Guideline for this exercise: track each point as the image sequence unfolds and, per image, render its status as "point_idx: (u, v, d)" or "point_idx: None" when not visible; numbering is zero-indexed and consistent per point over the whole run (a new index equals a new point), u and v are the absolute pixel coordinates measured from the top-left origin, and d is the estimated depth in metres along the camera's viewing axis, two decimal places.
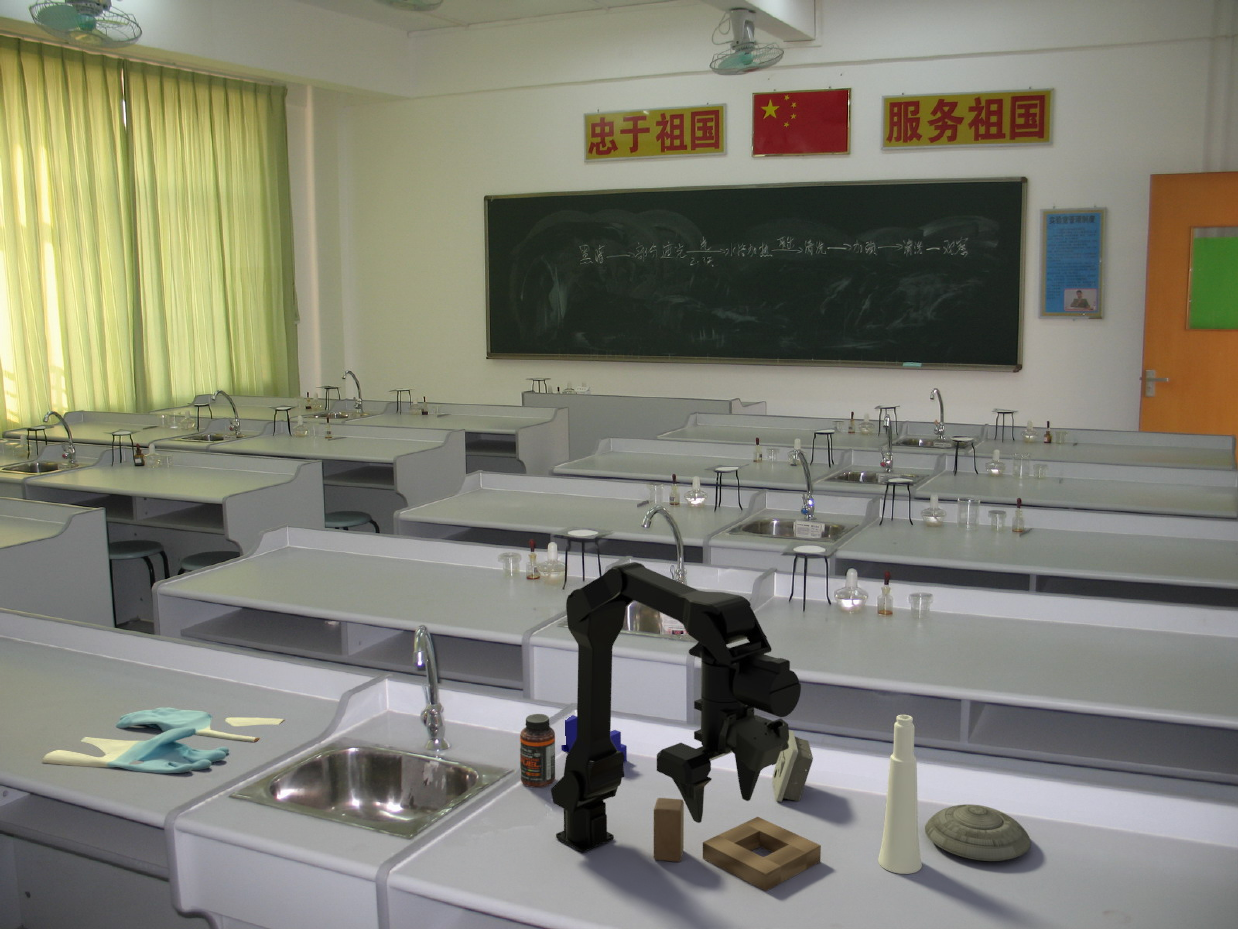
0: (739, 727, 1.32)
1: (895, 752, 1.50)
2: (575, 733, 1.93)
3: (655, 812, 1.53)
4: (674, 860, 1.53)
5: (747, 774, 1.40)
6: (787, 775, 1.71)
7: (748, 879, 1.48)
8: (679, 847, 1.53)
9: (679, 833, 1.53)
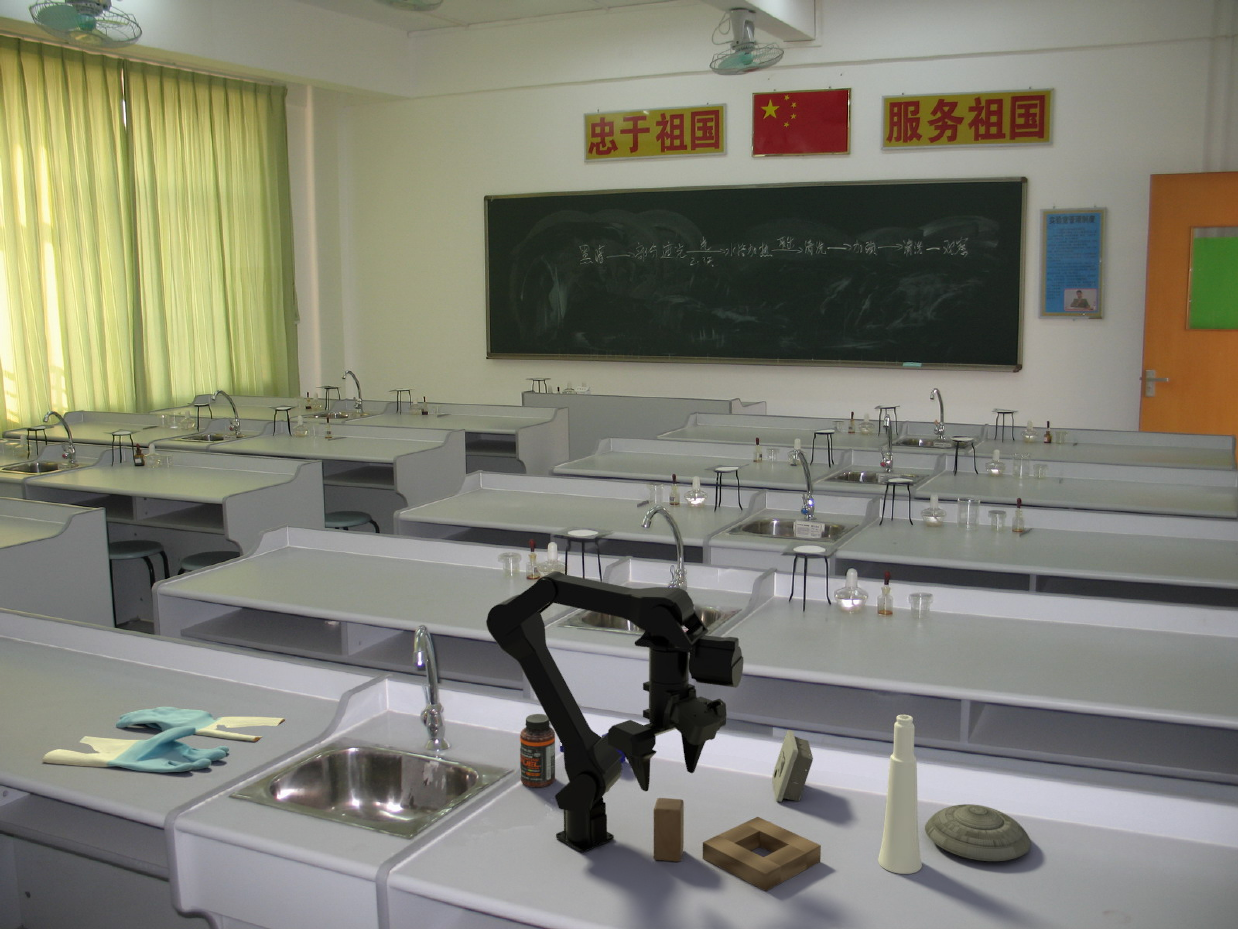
0: (681, 706, 1.48)
1: (895, 752, 1.50)
2: None
3: (655, 812, 1.53)
4: (674, 860, 1.53)
5: (691, 749, 1.57)
6: (787, 775, 1.71)
7: (748, 879, 1.48)
8: (679, 847, 1.53)
9: (679, 833, 1.53)
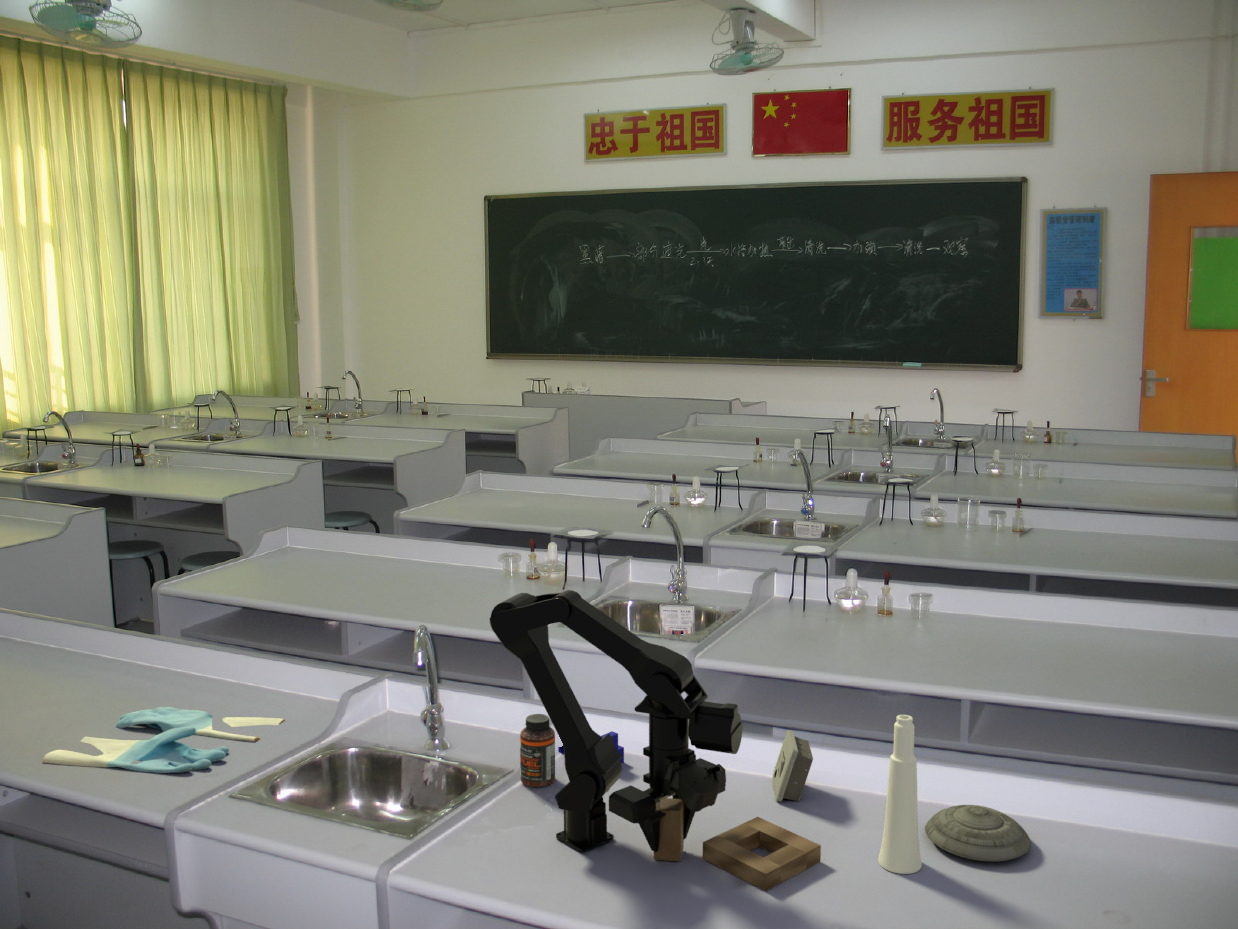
0: (681, 772, 1.50)
1: (895, 752, 1.50)
2: None
3: None
4: (674, 860, 1.53)
5: None
6: (787, 775, 1.71)
7: (748, 879, 1.48)
8: (679, 847, 1.53)
9: (679, 833, 1.53)
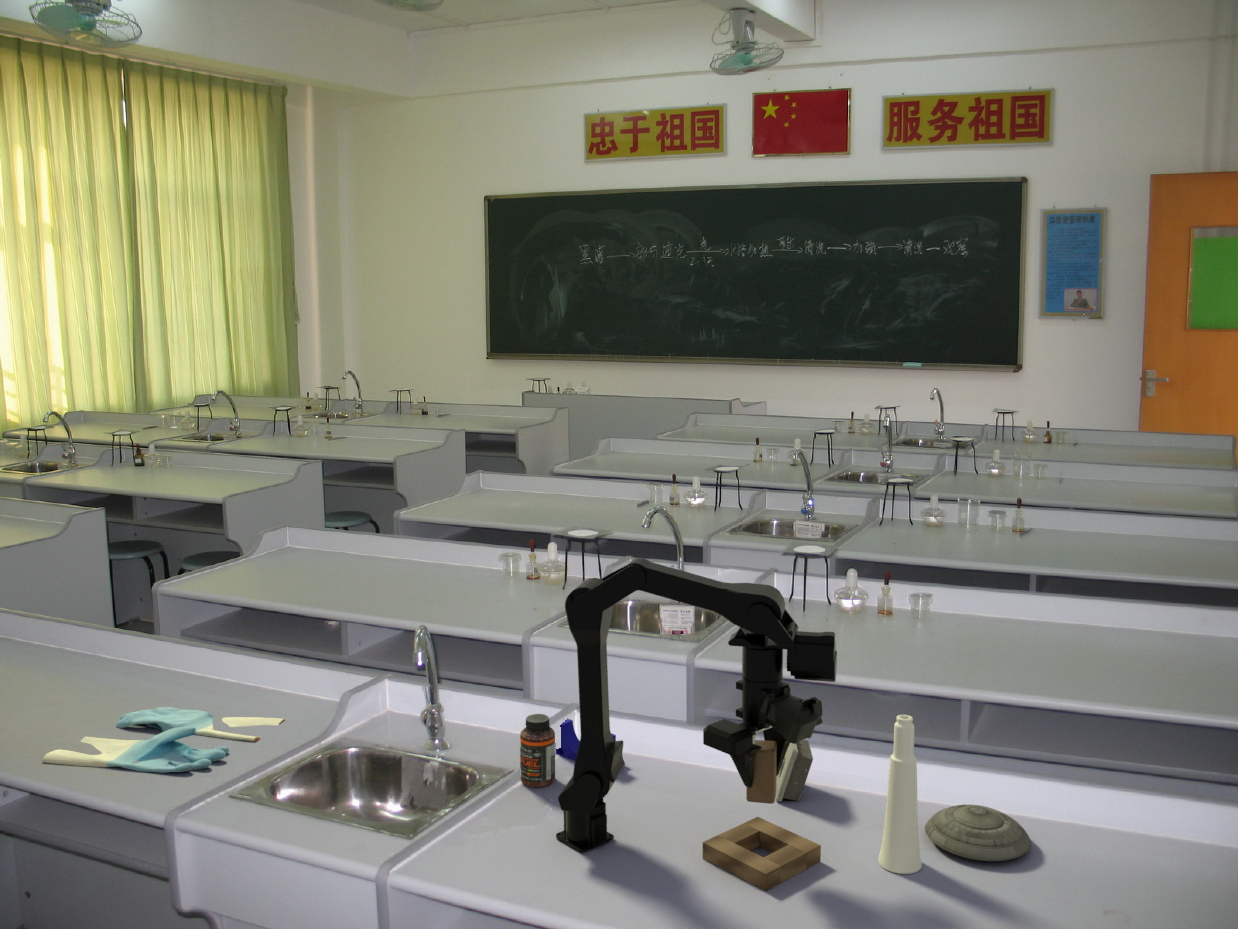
0: (777, 704, 1.47)
1: (895, 752, 1.50)
2: (569, 736, 1.91)
3: None
4: (767, 802, 1.50)
5: None
6: (787, 775, 1.71)
7: (748, 879, 1.48)
8: (773, 788, 1.50)
9: (773, 774, 1.50)
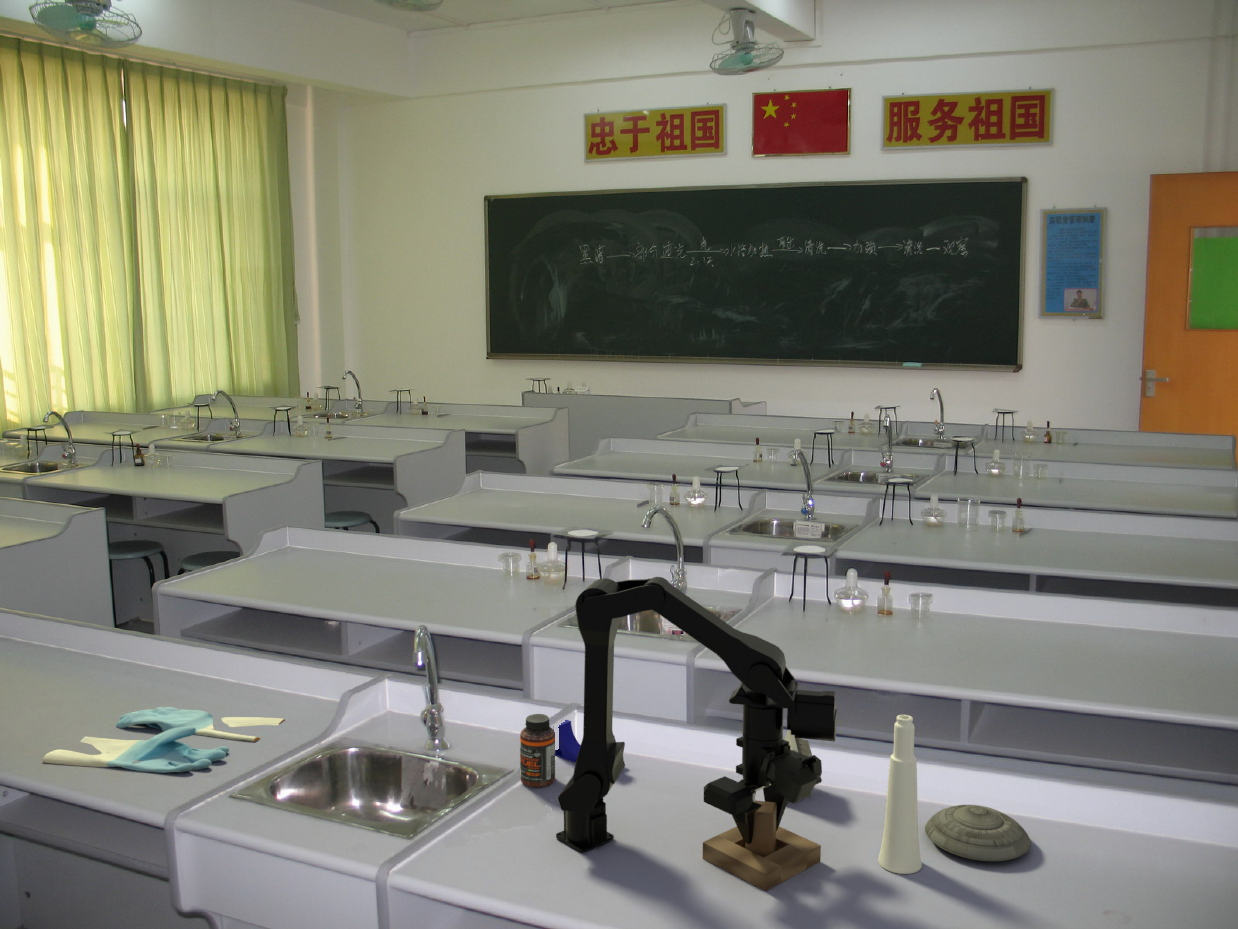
0: (777, 763, 1.48)
1: (895, 752, 1.50)
2: (568, 737, 1.91)
3: None
4: None
5: None
6: None
7: (748, 879, 1.48)
8: (771, 851, 1.51)
9: (772, 836, 1.51)
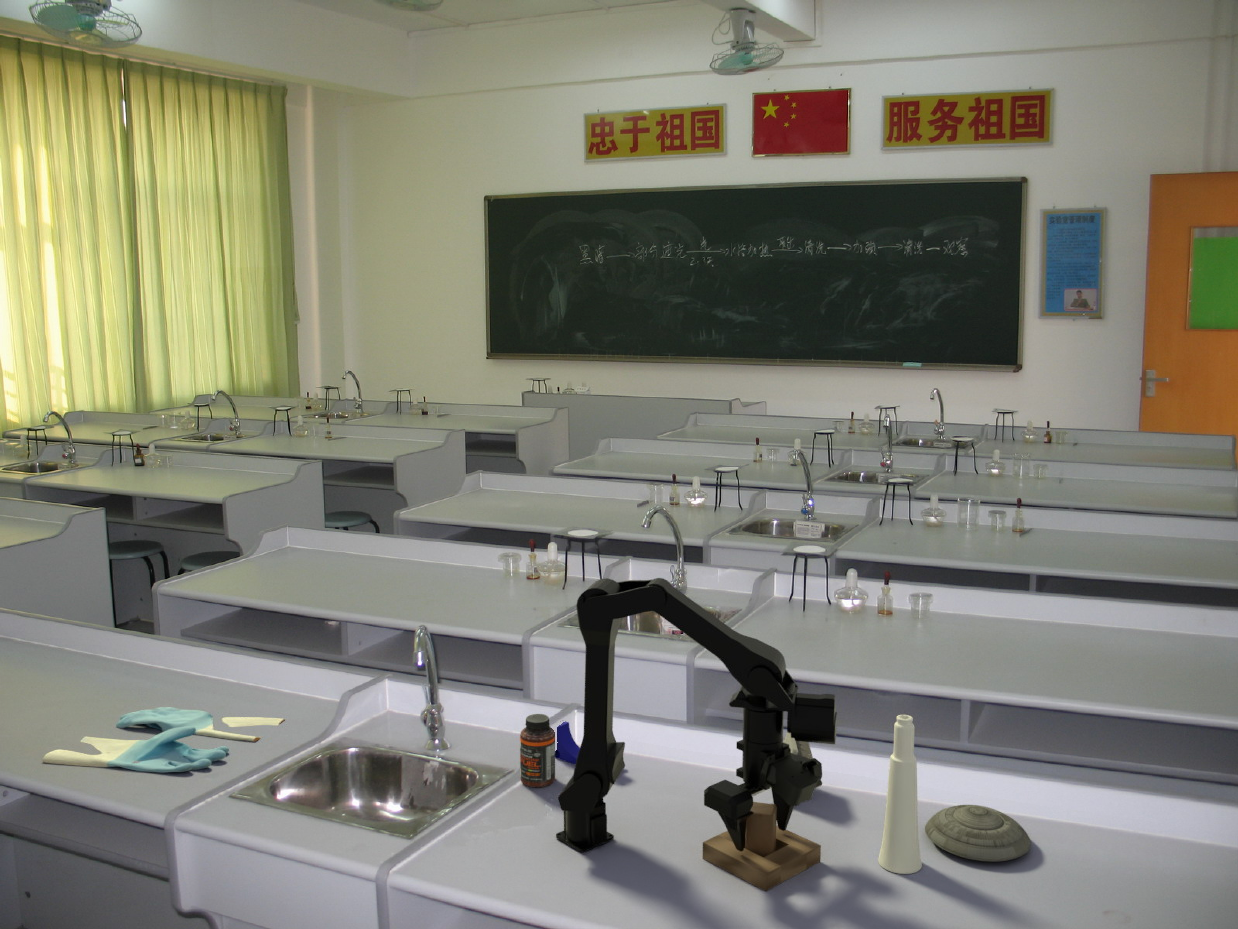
0: (778, 766, 1.48)
1: (895, 752, 1.50)
2: (566, 739, 1.90)
3: None
4: None
5: (783, 806, 1.56)
6: None
7: (748, 879, 1.48)
8: (771, 852, 1.51)
9: (771, 838, 1.51)
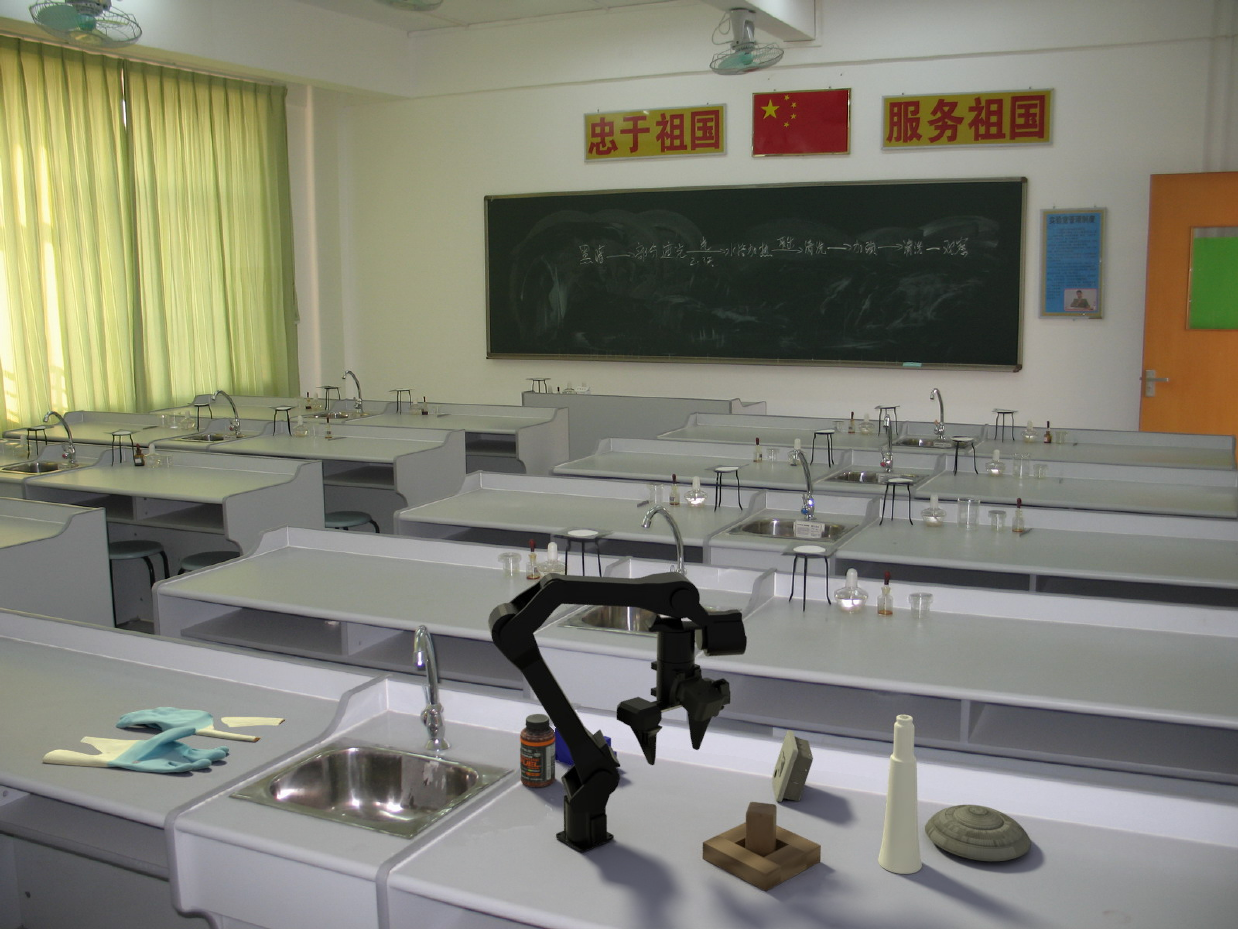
0: (687, 684, 1.56)
1: (895, 752, 1.50)
2: (563, 740, 1.90)
3: (747, 816, 1.52)
4: None
5: (697, 727, 1.64)
6: (787, 775, 1.71)
7: (748, 879, 1.48)
8: (771, 852, 1.51)
9: (771, 838, 1.51)
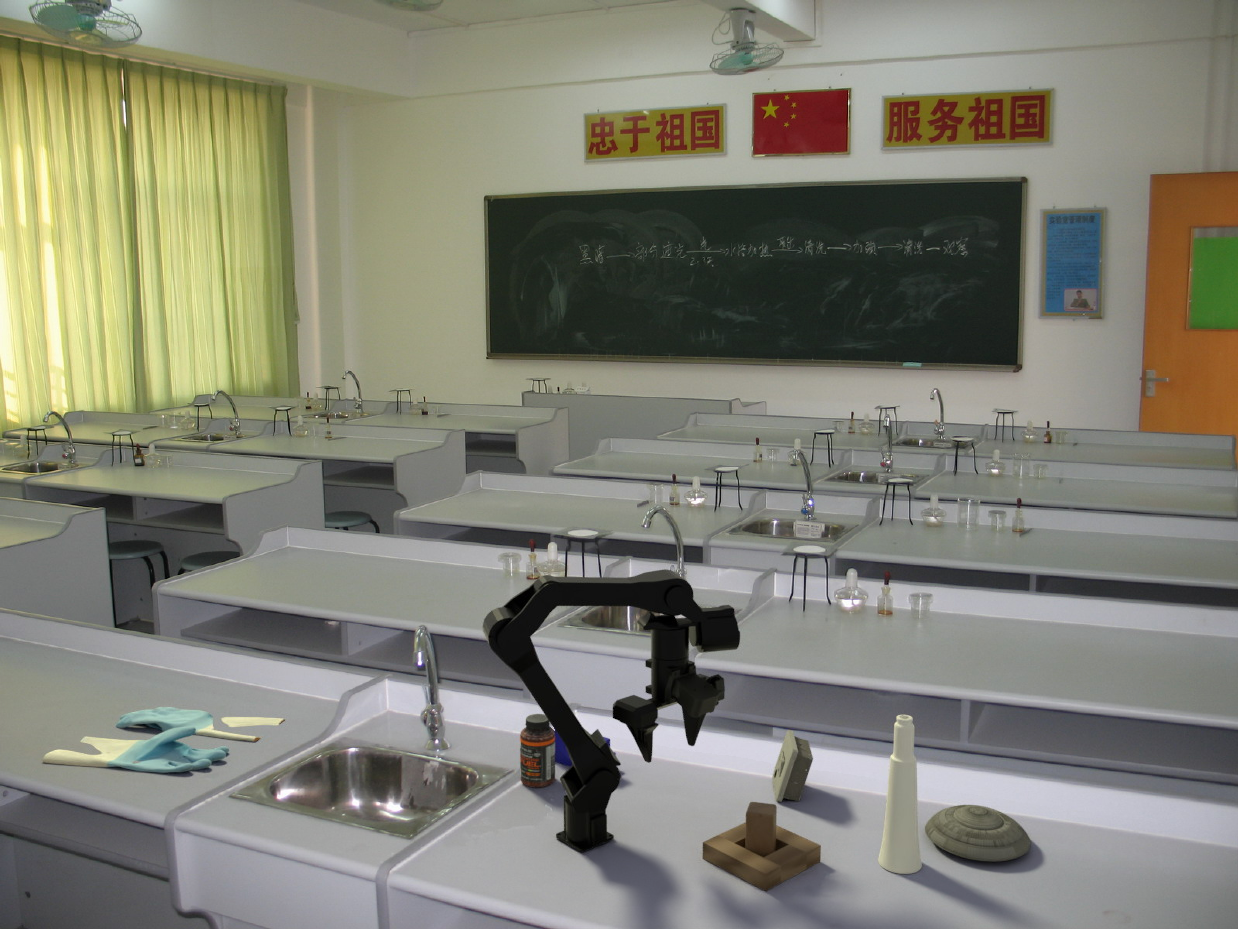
0: (682, 681, 1.57)
1: (895, 752, 1.50)
2: (562, 741, 1.89)
3: (747, 816, 1.52)
4: None
5: (692, 723, 1.65)
6: (787, 775, 1.71)
7: (748, 879, 1.48)
8: (771, 852, 1.51)
9: (771, 838, 1.51)
